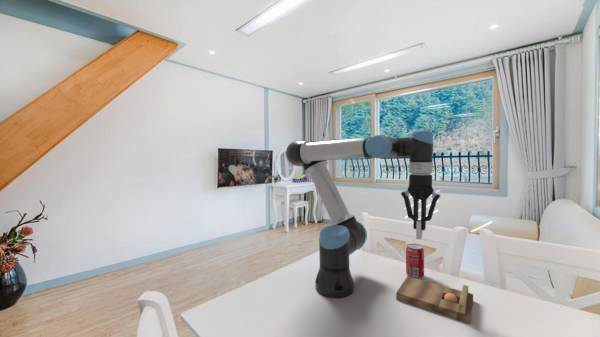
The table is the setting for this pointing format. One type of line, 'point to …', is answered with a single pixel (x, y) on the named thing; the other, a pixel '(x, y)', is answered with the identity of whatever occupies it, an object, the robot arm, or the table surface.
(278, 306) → the table surface
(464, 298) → the wooden board
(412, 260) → the soda can
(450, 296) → the ball
